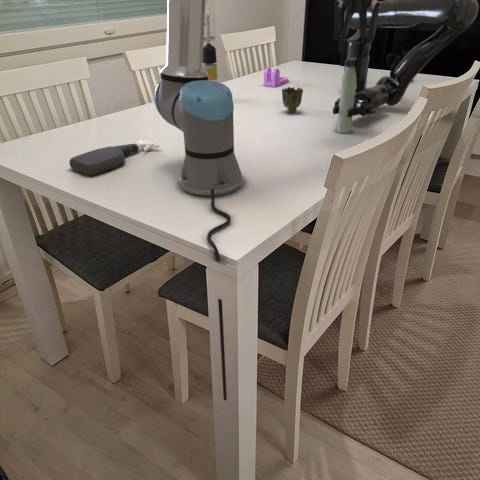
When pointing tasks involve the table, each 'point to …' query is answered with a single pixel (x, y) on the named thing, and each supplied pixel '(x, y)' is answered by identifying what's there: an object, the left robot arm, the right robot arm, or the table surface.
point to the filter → (209, 56)
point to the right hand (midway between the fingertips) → (341, 112)
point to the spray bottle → (106, 157)
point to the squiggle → (394, 65)
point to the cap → (350, 62)
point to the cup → (292, 98)
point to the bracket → (273, 78)
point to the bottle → (346, 100)
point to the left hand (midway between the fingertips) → (350, 66)
